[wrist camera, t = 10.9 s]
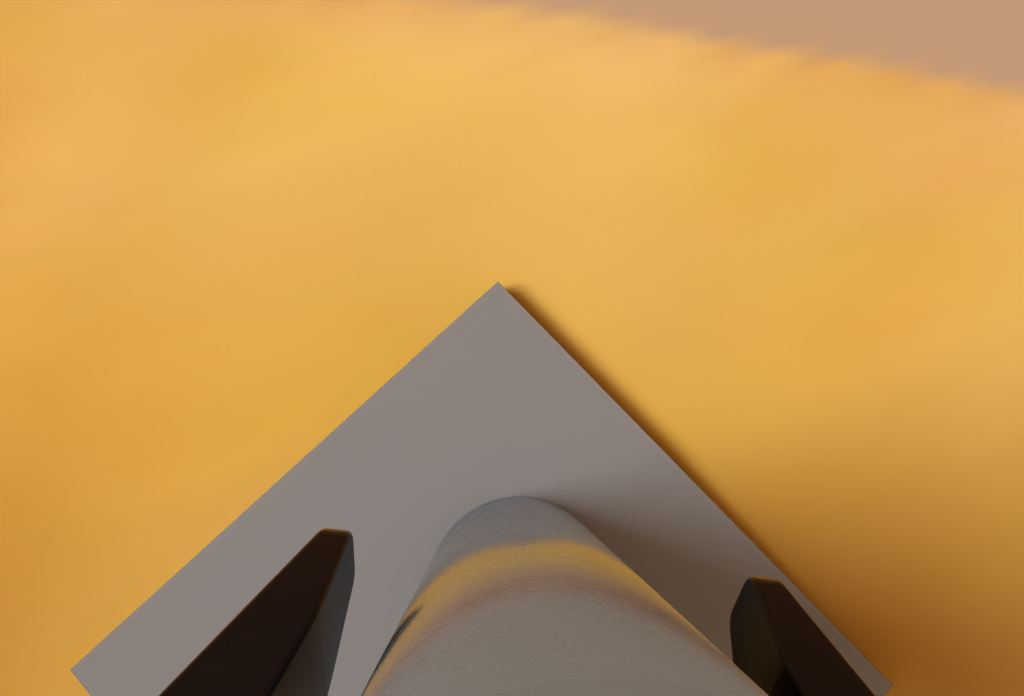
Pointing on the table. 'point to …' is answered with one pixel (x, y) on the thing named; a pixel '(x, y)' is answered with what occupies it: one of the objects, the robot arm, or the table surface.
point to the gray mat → (455, 505)
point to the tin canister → (543, 619)
